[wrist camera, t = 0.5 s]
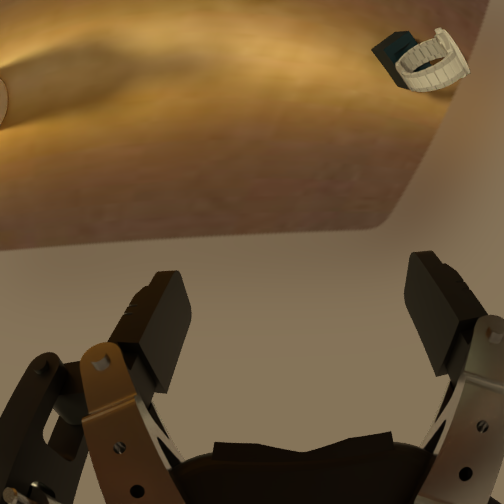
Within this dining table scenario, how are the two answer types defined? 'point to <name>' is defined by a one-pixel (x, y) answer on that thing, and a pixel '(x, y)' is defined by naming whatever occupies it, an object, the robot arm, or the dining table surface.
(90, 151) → the dining table surface
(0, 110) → the alcohol
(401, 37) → the watch
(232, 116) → the dining table surface
